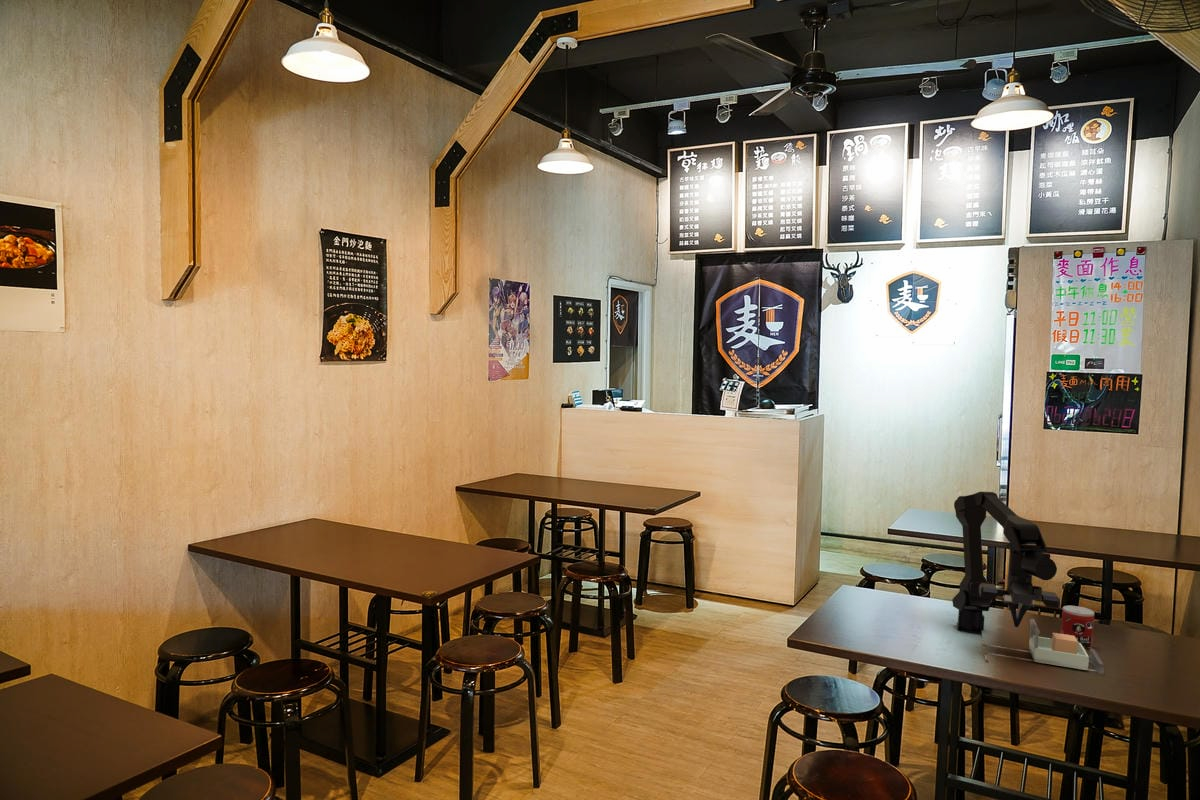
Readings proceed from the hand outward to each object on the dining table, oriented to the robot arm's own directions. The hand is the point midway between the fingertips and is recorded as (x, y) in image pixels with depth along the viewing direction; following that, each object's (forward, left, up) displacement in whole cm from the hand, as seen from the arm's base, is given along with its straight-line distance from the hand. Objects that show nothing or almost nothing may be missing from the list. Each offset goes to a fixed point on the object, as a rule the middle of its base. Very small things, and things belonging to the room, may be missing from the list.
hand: (1016, 626), depth 208 cm
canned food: (+17, +17, -9) cm, 25 cm away
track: (+6, 0, -8) cm, 10 cm away
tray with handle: (+10, 0, -7) cm, 12 cm away
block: (+12, 0, -6) cm, 13 cm away
